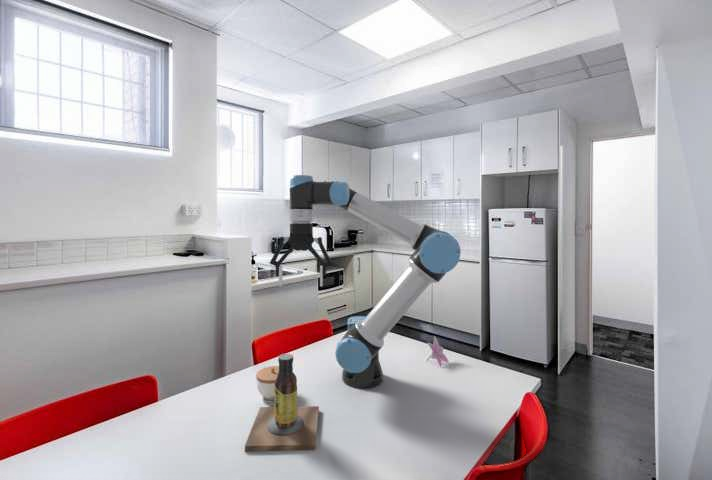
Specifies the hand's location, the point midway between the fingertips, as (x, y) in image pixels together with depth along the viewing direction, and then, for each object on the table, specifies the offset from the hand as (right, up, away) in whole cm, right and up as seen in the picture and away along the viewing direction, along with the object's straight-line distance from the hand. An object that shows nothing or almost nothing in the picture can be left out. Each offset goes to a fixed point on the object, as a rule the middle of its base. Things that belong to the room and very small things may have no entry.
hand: (301, 285), depth 119 cm
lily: (+52, -36, +27) cm, 68 cm away
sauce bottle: (-1, -37, -19) cm, 41 cm away
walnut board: (-2, -38, -19) cm, 43 cm away
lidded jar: (-9, -37, 0) cm, 38 cm away
